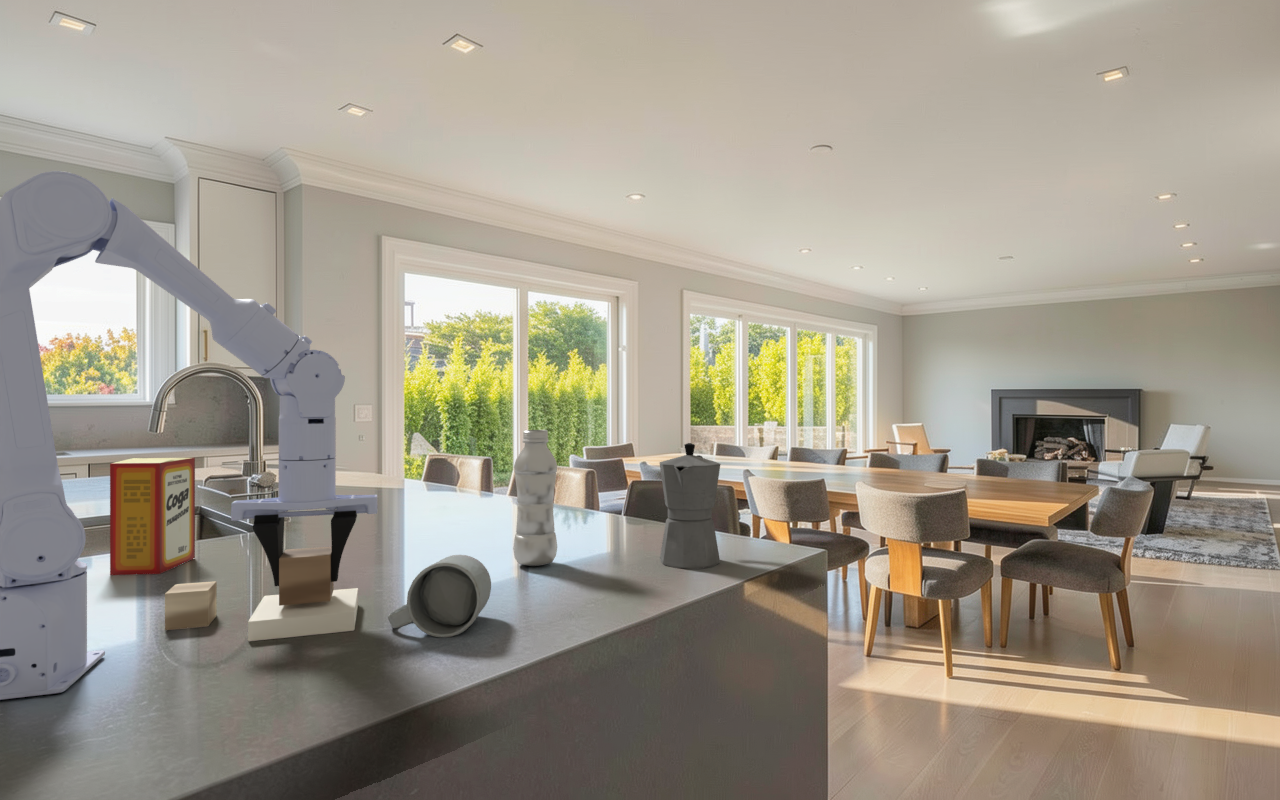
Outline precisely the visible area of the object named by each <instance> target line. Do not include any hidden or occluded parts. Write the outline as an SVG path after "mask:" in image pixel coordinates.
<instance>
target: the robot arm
mask: <svg viewBox="0 0 1280 800" xmlns="http://www.w3.org/2000/svg"><path fill="white" fill-rule="evenodd" d="M92 251H96V252H99V253H98V255H97V257H96V259H95V261H94V262H95V263H96V264H101V265H106V266H115V267H122V268H130V269H133V270H136V271H137V272H139V273H140V274H141V275H142V276H144V277H146V278H147V280H150V281H151V282H153V283H154V284H155V285H157V286H158V287H160V288H161V289H163V290H165V292H167V293H169V294H170V295H171V296H173V297H174V298H175V299H177V300H179V301H180V302H182V303H183V304H184V305H185V306H187V307H189V308H190V309H191V310H193V311H194V312H195V313H197V314H198V315H199V316H200V317H203V318H204V319H205V320H207V321H209V322H208V323H209V324H210V329H211V336H212V340H213V341H214V342H216V344H218V345H220V346H221V347H222V348H224V349H225V350H226V351H227V352H229V353H230V354H232V355H233V356H234V357H236V358H237V359H239V361H241V362H242V363H244V364H245V365H246V366H248V367H249V368H250V369H252V370H253V371H255V372H256V373H257V374H258V375H259V376H261V377H263V378H264V379H269V381H270V385H271V387H272V390H273V391H274V393H275V394H276V395H277V396H279V415H278V497H268V498H267V497H266V498H259V499H258V498H255V499H243V500H242V499H241V500H240V499H239V500H234V501H232V502H231V503H230V504H231V505H230V509H231V510H230V518H231V519H230V520H231V521H232V522H234V521H235V522H236V521H243V520H252V519H253V520H254V521H253V525H252V530H253V532H254V535H255V536H256V538H257V539H258V541H259V543H260V545H261V547H262V548H263V550H264V553H265V555H266V558H267V559H268V560H267V561H268V563H269V566H270V569H271V573H272V578H273V584H274V585H273V586H274V587H279V558H280V557H281V555H282V554H283V553H284V535H285V533H284V531H285V530H284V529H285V518H293V517H295V518H296V517H297V518H298V517H312V516H315V517H316V516H332V517H331V519H330V528H331V529H330V533H331V535H330V538H331V547H332V556H331V582H334V583H335V582H338V580H339V572H340V571H339V570H340V564H341V560H342V556H343V553H344V550H345V547H346V544H347V541H348V539H349V537H350V534H351V532H352V530H353V528H354V526H355V524H356V521H357V518H358V514H367V515H372V514H374V515H375V514H376V515H377V514H378V512H379V511H378V510H379V509H378V502H379V501H378V499H379V498H378V494H336V489H337V488H336V480H337V479H336V476H337V475H336V473H337V472H336V466H337V465H336V462H337V461H336V460H337V459H336V456H337V455H336V453H337V451H336V450H337V449H336V446H337V445H336V443H337V442H336V439H337V437H336V436H337V434H336V433H337V429H336V428H337V427H336V424H337V423H336V422H337V421H336V399H337V396H338V395H339V394H340V393H341V392H342V390H343V388H344V385H345V380H346V376H345V375H343V374H342V370H341V369H342V368H340V367H339V366H340V365H339V363H338V361H337V360H336V359H335V358H334V356H332V355H331V354H329V353H328V352H326V351H324V350H317V349H311V345H312V343H313V341H312V339H310V338H309V337H308V336H307V335H303V336H302V335H301V336H300V335H299V334H297V333H296V332H295V330H292V329H291V327H289V326H288V325H287V324H285V323H284V322H283V321H282V320H280V319H279V318H278V317H276V316H275V314H276V312H277V309H276V308H275V307H273V306H272V305H271V304H270V303H268V302H265V303H262V304H260V303H259V302H258V301H256V300H255V299H253V298H243V299H242V298H233V296H231V295H230V294H229V293H228V292H226V291H225V290H224V289H223V288H222V287H220V286H219V285H218V284H217V283H216V282H214V281H213V280H212V279H211V278H210V277H209V276H208V275H207V274H205V272H203V271H202V270H201V269H199V267H197V266H196V265H195V264H193V262H191V261H190V260H189V259H188V258H187V257H186V256H184V255H183V254H182V253H181V252H180V251H179V250H178V249H176V248H175V247H174V246H173V245H171V243H169V242H168V241H167V240H166V239H165V238H163V237H162V236H161V235H160V234H159V233H157V232H156V231H155V230H154V229H153V228H152V227H151V226H149V225H148V224H147V223H146V222H145V221H144V220H143V219H141V218H140V216H139V215H137V214H136V213H135V212H134V211H132V210H131V209H130V207H128V206H126V205H125V204H123V203H122V202H120V201H119V200H117V199H115V198H113V197H111V198H110V200H109V199H108V197H107V196H106V194H105V193H104V191H103V190H102V189H101V188H100V187H99V186H97V185H96V184H95V183H93V182H92V181H91V180H89V179H87V178H86V177H83V176H81V175H79V174H76V173H73V172H68V171H62V170H50V171H45V172H40V173H37V174H35V175H33V176H31V177H29V178H28V179H26V180H24V181H22V182H21V183H19V184H17V185H16V186H13V187H12V188H11V189H9V190H7V191H5V192H4V193H3V195H2V196H1V198H0V701H1V700H9V699H11V700H12V699H16V698H25V697H26V698H27V697H36V696H43V695H53V694H60V693H63V692H65V691H67V690H68V689H69V688H70V687H71V686H72V685H73V684H74V683H76V681H78V680H79V679H80V678H82V676H83V675H84V674H86V673H87V672H88V671H89V669H91V668H92V667H93V666H94V665H95V664H97V662H99V661H100V660H101V659H102V658H103V657H104V656H105V654H106V652H105V650H103V649H101V650H93V651H92V650H89V651H88V563H85V562H83V561H80V560H79V558H80V557H81V555H82V553H83V552H84V549H85V545H86V539H87V537H86V531H85V527H84V524H82V522H81V520H80V519H79V518H78V517H77V516H76V515H75V513H74V511H73V510H72V509H71V508H70V506H69V505H68V504H67V501H66V497H65V490H64V485H63V481H62V477H61V472H60V467H59V464H58V458H57V452H56V446H55V439H54V433H53V427H52V426H53V425H52V420H51V414H50V408H49V402H48V397H47V395H48V394H47V390H46V384H45V377H44V373H43V372H44V371H43V366H42V365H43V364H42V360H41V353H40V352H41V351H40V348H39V341H38V334H37V329H36V321H35V316H34V310H33V304H32V303H33V302H32V298H31V291H30V288H32V287H33V286H34V285H36V284H37V283H38V282H40V281H41V280H42V279H43V278H45V276H47V275H48V274H50V272H52V271H53V269H54V268H56V267H58V266H61V265H64V264H67V263H69V262H70V263H71V262H72V261H75V260H77V259H79V258H83V257H84V256H87V255H88V254H90V253H91V252H92Z"/></svg>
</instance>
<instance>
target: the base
mask: <svg viewBox="0 0 1280 800" xmlns="http://www.w3.org/2000/svg"><path fill="white" fill-rule="evenodd" d="M358 607H359V588H358V587H353V588H343V589H334V590H333V594H332V597H331V600H330V601H326V602H315V603H303V604H292V605H280V606H279V594H272V595H271V594H270V595H269V594H268V595H264V596H263V597H262V599H261V601H260V602H259V603H258V605H257V606H256V608H255V610H254V611H253V613H252V614H251V616H250V618H249V619H248V622H247V641H248V642H255V641H264V640H265V641H266V640H273V639H275V640H276V639H284V638H285V639H286V638H294V637H295V638H296V637H303V636H306V637H307V636H314V635H324V634H325V635H326V634H332V633H333V634H334V633H335V634H336V633H344V632H354V631H355V628H356V621H357V615H358V614H357V613H358V610H359V609H358Z"/></svg>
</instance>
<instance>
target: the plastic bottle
mask: <svg viewBox="0 0 1280 800" xmlns="http://www.w3.org/2000/svg"><path fill="white" fill-rule="evenodd" d="M522 433H523V435H522V436H523V437H522V444H523V443H524V445H523V448H522V450H521V451H520V452H519V454H518V456H517V458H516V459H515V461H514V465H513V468H514V470H513V471H514V479H515V487H516V495H517V496H516V497H517V498H516V500H517V517H516V518H517V519H516V531H515V534H514V539H513V547H512V550H513V555H514V559H515V561H516V562H517V563H518V564H519V565H522V566H523V565H524V566H529V567H530V566H531V567H538V566H539V567H540V566H544V565H548V564H551V563H553V561H554V559H556V557H557V551H558V542H557V541H558V540H557V535H556V532H555V531H556V529H555V520H554V519H555V517H554V499H555V488H556V487H555V486H556V481H557V472H558V464H557V460H556V458H555V456H554V454H553V453H552V451H551V450H550V449H549V448H548V446H547V443H549V437H548V436H549V434H548V433H549V432H548V430H547V429H524V430H523V432H522Z"/></svg>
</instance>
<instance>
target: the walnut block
mask: <svg viewBox="0 0 1280 800" xmlns="http://www.w3.org/2000/svg"><path fill="white" fill-rule="evenodd" d="M331 556H332V546H322V547H318V546H317V547H305V548H290V549H289V548H288V549H285V550H283V554H282V555H281V557H280V558H279V586H278V595H279V606H280V605H292V604H303V603H315V602H326V601H330V600H331V597H332V594H333V590H335V589H334V588H335V586H334V583H335V582H331Z"/></svg>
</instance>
